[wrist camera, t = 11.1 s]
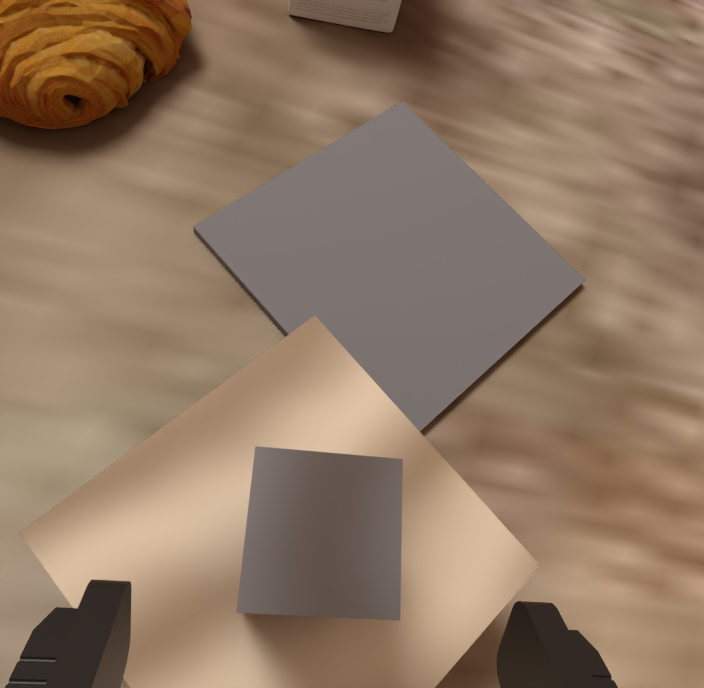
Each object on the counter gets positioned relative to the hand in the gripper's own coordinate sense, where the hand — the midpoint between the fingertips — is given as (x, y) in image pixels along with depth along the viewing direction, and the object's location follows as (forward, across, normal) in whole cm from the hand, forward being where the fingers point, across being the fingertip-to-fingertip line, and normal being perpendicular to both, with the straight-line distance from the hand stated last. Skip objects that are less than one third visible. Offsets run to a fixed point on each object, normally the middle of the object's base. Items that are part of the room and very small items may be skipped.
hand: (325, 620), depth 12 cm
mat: (+23, -5, -2) cm, 24 cm away
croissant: (+32, +16, -11) cm, 38 cm away
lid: (+8, 0, +5) cm, 10 cm away
